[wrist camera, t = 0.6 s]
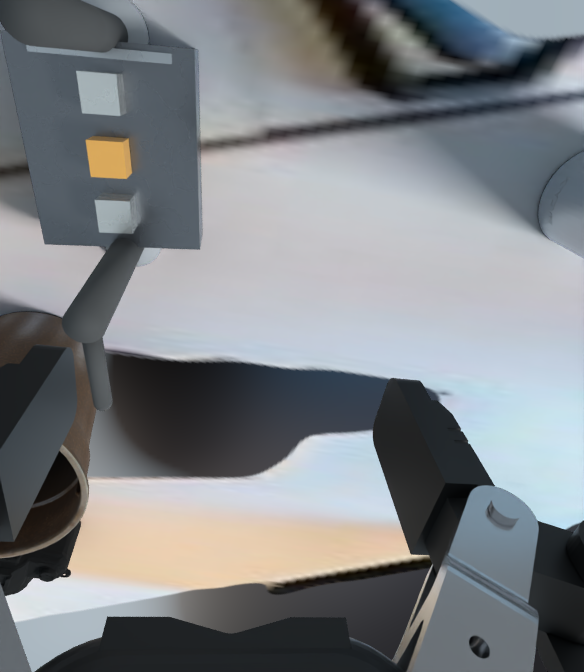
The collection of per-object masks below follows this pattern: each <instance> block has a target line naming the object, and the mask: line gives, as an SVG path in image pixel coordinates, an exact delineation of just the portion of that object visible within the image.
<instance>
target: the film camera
mask: <svg viewBox="0 0 584 672" xmlns="http://www.w3.org/2000/svg"><path fill="white" fill-rule="evenodd" d="M80 527H81V521H79V523H78V524H77V525H76V526H75V527H74V528H73V529H72V530H71V531H70V532H69V533H68V534H67V535H65V536H64V537H63V538H61V539H60V540H58V541H56V542H55V543H53V544H51V545H49V546H47V547H44V548H42V549H39V550H37V551H34V552H30V553H27V554H23V555H19V556H14V557H7V558H0V584H1V587H2V589H3V592H4V595H5V596H7V595H11V594H15V593H18V592H20V591H21V590H23V589H24V588H25V587H26V586H27V585H28V583H29V582H30V581H31V580H32V579H33V578H40V580H42V581H46V582H49V581H53V580H54V579H56V578H59V577H69V576H70V575H71V571H70V570H69V569H67V567H68V564H69V561H70V558H71V555H72V552H73V549H74V546H75V542H76V539H77V536H78V533H79V530H80ZM63 574H66V575H63Z"/></svg>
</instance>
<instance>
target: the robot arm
mask: <svg viewBox="0 0 584 672" xmlns="http://www.w3.org/2000/svg"><path fill="white" fill-rule="evenodd" d="M538 218H539V223H540V227H541V229H542V231H543V233H544V234H545V235H546V236H547V237H548V238H549V239H550V240H552V241H554V242H555V243H557V244H559V245H561V246H563V247H564V248H566V249H568V250H570V251H572V252H573V253H575V254H577V255H578V256H580V257H582V258H584V151H583V152H581V153H579V154H577V155H576V156H574V157H572V158H571V159H569V160H568V161H567V162H566V163H565V164H563V165H562V166H561V167H560V168H559V169H558V170H557V172H556V173H555V174H554V175H553V176H552V178H551V179H550V181H549V182H548V184H547V185H546V187H545V190H544V192H543V194H542V196H541V200H540V204H539V212H538ZM76 409H77V390H76V378H75V366H74V355H73V351H72V349H71V348H70V347H60V346H50V345H39V344H36V345H34V346H33V347H32V348H31V350H30V351H29V352H28V353H27V355H26V356H25V357H24V359H23V360H22V361H21V362H20V364H13V363H7V364H6V365H4V366H2V367H0V541H2V542H14V541H15V539H16V537H17V535H18V533H19V531H20V529H21V527H22V525H23V523H24V521H25V519H26V517H27V515H28V513H29V511H30V509H31V507H32V505H33V503H34V501H35V499H36V497H37V495H38V493H39V491H40V489H41V487H42V485H43V483H44V480H45V478H46V476H47V474H48V472H49V470H50V468H51V466H52V464H53V462H54V460H55V458H56V456H57V454H58V452H59V450H60V448H61V446H62V444H63V442H64V440H65V438H66V436H67V434H68V432H69V430H70V428H71V426H72V424H73V421H74V418H75V414H76ZM373 442H374V446H375V449H376V452H377V455H378V458H379V461H380V464H381V467H382V470H383V473H384V476H385V479H386V482H387V485H388V488H389V491H390V494H391V497H392V500H393V503H394V506H395V509H396V512H397V515H398V518H399V521H400V524H401V527H402V530H403V533H404V536H405V538H406V541H407V544H408V547H409V550H410V553H411V554H413V555H429V556H430V559H431V561H432V566H431V568H430V570H429V572H428V574H427V577H426V579H425V582H424V585H423V588H422V590H421V592H420V595H419V597H418V600H417V603H416V605H415V608H414V610H413V613H412V616H411V618H410V621H409V624H408V626H407V628H406V631H405V634H404V636H403V639H402V641H401V643H400V646H399V648H398V650H397V652H396V654H395V656H394V659H393V661H392V660H390V659H389V658H388V657H386V656H385V655H384V654H383V653H381V652H379V651H377V650H376V649H374V648H372V647H371V646H369V645H367V644H365V643H362V642H360V641H358V640H356V639H353V638H350V637H349V633H348V628H347V622H346V618H313V617H312V618H311V617H310V618H309V617H306V618H305V617H301V618H300V617H298V618H297V617H296V618H295V617H293V618H292V617H290V618H287V619H284V620H280V621H277V622H273V623H270V624H266V625H263V626H259V627H256V628H252V629H249V630H245V631H242V632H239V633H234V634H228V633H223V632H220V631H217V630H213V629H210V628H206V627H203V626H199V625H195V624H192V623H189V622H185V621H182V620H178V619H175V618H171V617H107V620H106V624H105V627H104V632H103V635H102V637H101V638H98V639H94V640H91V641H88V642H86V643H83V644H81V645H78V646H76V647H73V648H72V649H70V650H68V651H66V652H64V653H62V654H60V655H58V656H57V657H55V658H54V659H52V660H51V661H49V662H48V663H46V664H44V665H43V666H42V667H40V668H39V669H38V670H36V671H35V672H533V665H534V657H535V648H537V651H538V653H539V655H540V657H541V659H542V661H543V664H544V666H545V668H546V670H547V672H584V521H582V522H581V523H580V525H579V526H578V527H577V529H576V530H575V531H574V532H571V531H567V530H564V529H561V528H558V527H555V526H552V525H549V524H546V523H542V522H539V521H537V519H536V517H535V515H534V514H533V512H532V511H531V510H530V508H529V507H528V506H527V505H526V504H525V503H524V502H523V501H522V500H520V499H519V498H518V497H516V496H515V495H513V494H512V493H510V492H508V491H506V490H504V489H501V488H498V487H495V485H494V484H493V482H492V480H491V479H490V477H489V475H488V474H487V472H486V470H485V469H484V467H483V465H482V464H481V462H480V460H479V458H478V457H477V455H476V453H475V452H474V450H473V448H472V447H471V445H470V444H468V440H467V438H466V437H465V435H464V433H463V432H461V428H460V426H459V425H458V423H457V421H456V420H455V418H454V416H453V415H452V413H450V412H449V411H448V410H447V409H446V408H445V407H444V406H443V405H442V404H440V403H439V402H438V401H435V400H431V398H430V397H429V395H428V393H427V391H426V389H425V388H424V386H423V384H422V383H421V382H420V381H419V380H408V379H397V378H391V379H390V380H389V382H388V383H387V386H386V389H385V392H384V395H383V398H382V401H381V404H380V407H379V409H378V412H377V415H376V418H375V422H374V426H373ZM0 672H31V668H30V666H29V663H28V660H27V657H26V654H25V652H24V649H23V646H22V643H21V640H20V638H19V635H18V632H17V629H16V626H15V623H14V620H13V618H12V615H11V612H10V609H9V606H8V603H7V601H6V598H5V595H4V592H3V589H2V587H1V584H0Z"/></svg>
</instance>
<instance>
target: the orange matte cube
mask: <svg viewBox="0 0 584 672" xmlns="http://www.w3.org/2000/svg"><path fill="white" fill-rule="evenodd" d="M86 146H87V153H88V160H89V167H90V174H91V177H100V178H118V179H127V178H128V177H129V176H130V175H131V174H132V168H131V158H130V148H129V138H118V137H103V136H92V137H90V138H88V139H86Z"/></svg>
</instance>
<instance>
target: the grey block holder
mask: <svg viewBox="0 0 584 672" xmlns="http://www.w3.org/2000/svg"><path fill="white" fill-rule="evenodd" d="M0 33H1V37H2V42H3V47H4V52H5V57H6V61H7V66H8V71H9V76H10V80H11V85H12V90H13V95H14V100H15V104H16V109H17V114H18V119H19V123H20V128H21V133H22V138H23V142H24V147H25V152H26V157H27V162H28V166H29V171H30V176H31V181H32V185H33V190H34V195H35V200H36V205H37V209H38V214H39V219H40V224H41V228H42V233H43V238H44V243H45V244H53V245H83V246H110V245H111V244H112V243H113V242H114V241H115V240H117V239H128V240H131V241H132V242H134V243H135V244H136V245H137V246H138V247H141V248H170V249H200V246H201V240H202V191H201V149H200V106H199V63H198V50H196V49H190V48H179V47H169V46H158V45H148V44H137V43H127V42H117V44H116V46H115V47H114V48H112V49H111V50H110V51H108V52H104V53H100V52H89V51H78V50H68V49H57V48H46V47H35V46H29V45H25V44H23V43H21V42H19V41H17V40H16V39H15V38H13V37H12V36H11V35H10V34H9V33H8V32H7V31H1V30H0ZM92 136H103V137H118V138H129V148H130V158H131V168H132V174H131V175H130V176H129V177H128V178H127V179H118V178H100V177H91V174H90V167H89V160H88V153H87V146H86V139H88V138H90V137H92Z"/></svg>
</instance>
